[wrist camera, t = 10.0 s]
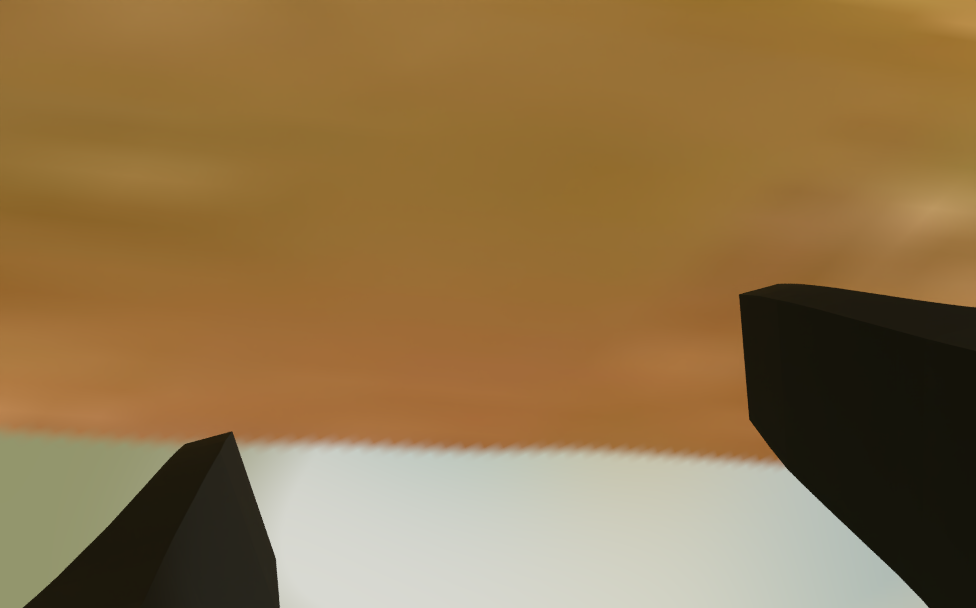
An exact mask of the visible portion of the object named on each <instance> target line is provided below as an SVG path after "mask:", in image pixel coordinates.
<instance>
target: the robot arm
mask: <svg viewBox="0 0 976 608" xmlns="http://www.w3.org/2000/svg"><path fill="white" fill-rule="evenodd" d="M739 299H740V311H741V323H742V335H743V348H744V360H745V372H746V384H747V397H748V409H749V420H750V421H751V422H752V424H753V425H754V426H755V428H756V429H757V430H758V432H759V433H760V434H761V436H762V437H763V439H764V440H765V441H766V443H767V444H768V445H769V447H770V448H771V449H772V450H773V452H774V453H775V454H776V455H777V457H778V458H779V459H780V460H781V462H782V463H783V464H784V465H785V467H786V468H787V469H788V470H789V471H790V472H791V473H792V474H793V475H794V476H795V477H796V478H797V479H798V480H799V481H800V482H801V483H802V484H803V485H804V486H805V487H806V488H807V489H808V490H809V491H810V492H811V493H812V494H813V495H814V496H815V497H817V499H819V501H821V502H822V503H823V504H824V505H825V506H826V507H827V508H828V509H829V510H830V511H831V512H832V513H833V514H834V515H835V516H836V517H837V518H838V519H839V520H841V521H842V522H843V523H844V524H845V525H846V526H847V527H848V528H849V529H850V530H851V531H852V532H853V533H854V534H855V535H856V536H857V537H859V539H861V540H862V541H863V542H864V543H865V544H866V545H867V546H868V547H869V548H870V549H871V550H872V551H873V552H874V553H875V554H876V555H877V556H879V557H880V558H881V559H882V560H883V561H884V562H885V563H886V564H887V565H888V566H889V567H890V568H891V569H892V570H893V571H894V572H895V573H897V574H898V575H899V576H900V577H901V579H903V581H905V583H906V584H907V585H908V586H909V587H910V588H911V589H912V590H913V591H914V592H915V593H916V594H917V595H918V596H919V597H920V598H921V599H922V600H923V601H924V602H925V604H926V605H927V606H928V607H929V608H976V308H975V307H966V306H957V305H949V304H942V303H934V302H927V301H920V300H913V299H906V298H899V297H893V296H886V295H879V294H873V293H866V292H860V291H853V290H846V289H839V288H832V287H824V286H815V285H805V284H776V285H772V286H769V287H765V288H761V289H758V290H754V291H750V292H746V293H743V294H739ZM23 608H280V605H279V592H278V580H277V568H276V558H275V555H274V552H273V549H272V546H271V543H270V540H269V537H268V535H267V532H266V529H265V526H264V523H263V520H262V517H261V514H260V511H259V508H258V505H257V502H256V499H255V496H254V494H253V491H252V488H251V485H250V482H249V479H248V476H247V473H246V470H245V467H244V464H243V461H242V458H241V456H240V453H239V450H238V447H237V444H236V441H235V438H234V435H233V432H228V433H224V434H220V435H217V436H213V437H209V438H206V439H202V440H198V441H195V442H191V443H187V444H185V445H184V446H182V447H181V448H180V449H179V450H178V451H177V452H176V453H175V454H174V455H173V456H172V457H171V458H170V459H169V460H168V461H167V462H166V463H165V464H164V465H163V466H162V467H161V469H160V470H159V471H158V472H157V473H156V474H155V475H154V476H153V478H152V479H151V480H150V481H149V482H148V483H147V484H146V485H145V487H144V488H143V489H142V490H141V491H140V492H139V493H138V494H137V495H136V496H135V497H134V499H133V500H132V501H131V502H130V503H129V504H128V505H127V506H126V507H125V508H124V509H123V511H122V512H121V513H120V514H119V515H118V516H117V517H116V518H115V519H114V520H113V521H112V523H111V524H110V525H109V526H108V527H107V528H106V529H105V530H104V531H103V532H102V533H101V534H100V535H99V536H98V537H97V538H96V539H95V540H94V541H93V542H92V543H91V544H90V545H89V546H88V547H87V548H86V549H85V550H84V551H83V552H82V553H81V554H80V555H79V556H78V557H77V558H76V559H75V560H74V561H73V562H72V563H71V564H70V565H69V566H68V567H67V568H66V569H65V570H64V571H63V572H62V573H61V574H60V575H59V576H58V577H57V578H56V579H54V580H53V581H52V582H51V583H50V584H49V585H48V586H47V587H46V588H45V589H44V590H43V591H41V592H40V593H39V594H38V595H37V596H36V597H35V598H34V599H32V600H31V601H30V602H29V603H28V604H27V605H25V606H24V607H23Z"/></svg>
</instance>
